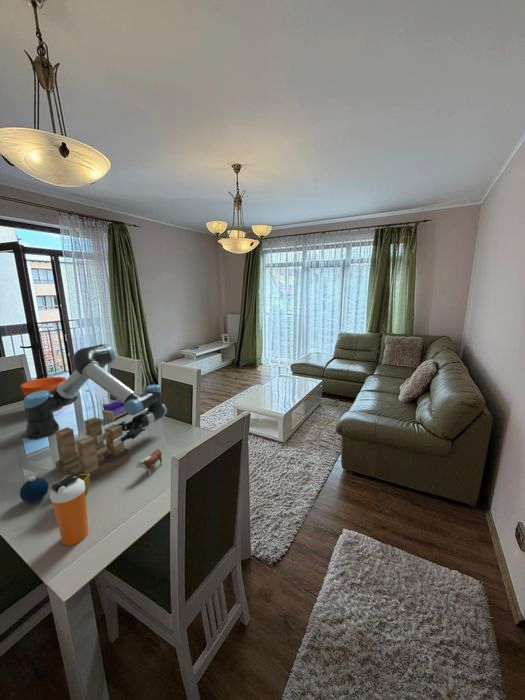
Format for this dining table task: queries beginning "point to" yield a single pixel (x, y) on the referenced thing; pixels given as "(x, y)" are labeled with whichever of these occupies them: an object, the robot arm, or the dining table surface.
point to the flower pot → (86, 480)
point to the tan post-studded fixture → (86, 452)
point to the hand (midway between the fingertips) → (105, 441)
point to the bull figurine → (150, 461)
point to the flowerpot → (41, 385)
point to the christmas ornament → (34, 489)
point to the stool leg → (112, 434)
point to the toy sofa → (113, 410)
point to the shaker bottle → (70, 509)
